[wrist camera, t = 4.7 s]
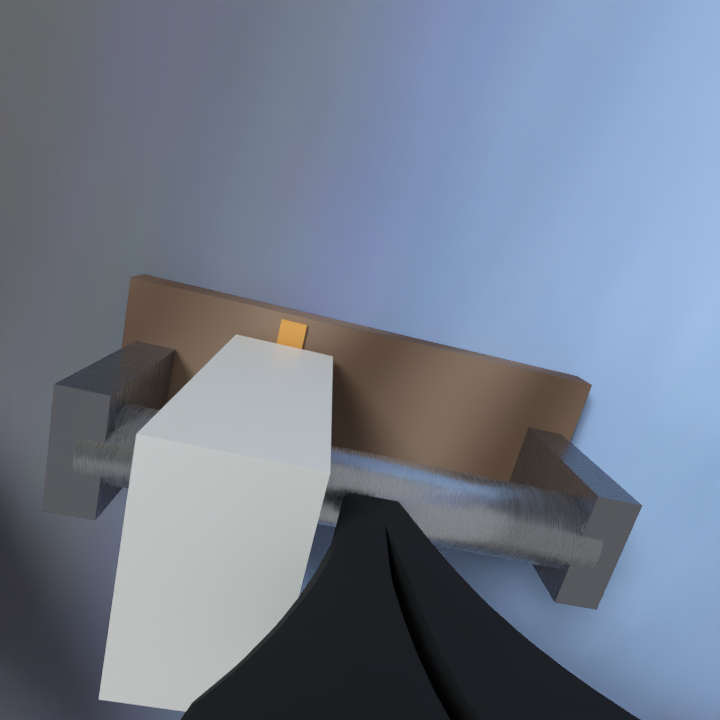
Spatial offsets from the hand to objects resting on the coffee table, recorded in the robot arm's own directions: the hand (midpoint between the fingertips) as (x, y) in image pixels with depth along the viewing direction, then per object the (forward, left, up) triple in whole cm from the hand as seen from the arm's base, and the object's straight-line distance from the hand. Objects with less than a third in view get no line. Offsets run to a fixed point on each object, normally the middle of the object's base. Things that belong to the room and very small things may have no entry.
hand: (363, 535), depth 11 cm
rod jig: (0, 0, -6) cm, 6 cm away
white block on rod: (+3, 0, -5) cm, 6 cm away
